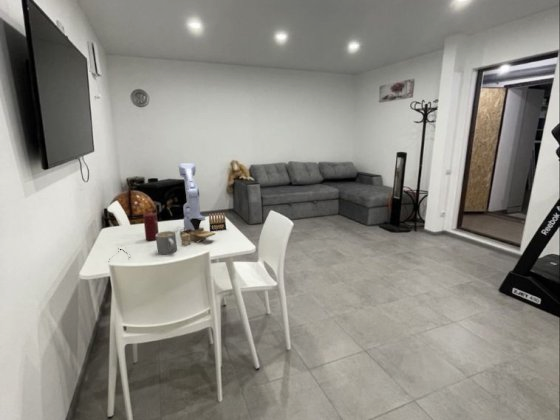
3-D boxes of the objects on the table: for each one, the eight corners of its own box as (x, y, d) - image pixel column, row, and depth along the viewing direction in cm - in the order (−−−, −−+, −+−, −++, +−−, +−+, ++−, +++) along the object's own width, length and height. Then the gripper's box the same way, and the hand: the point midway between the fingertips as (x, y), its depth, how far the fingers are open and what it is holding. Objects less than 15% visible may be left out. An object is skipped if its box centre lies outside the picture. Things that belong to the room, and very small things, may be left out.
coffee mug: (156, 250, 164) (154, 233, 162) (174, 246, 169) (172, 229, 167) (161, 258, 153) (158, 240, 151) (180, 254, 158) (178, 236, 156)
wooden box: (180, 238, 183) (179, 232, 182) (190, 234, 189) (189, 228, 188) (196, 242, 175) (195, 235, 174) (205, 238, 181) (205, 232, 180)
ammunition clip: (226, 229, 199) (224, 211, 196) (226, 229, 197) (225, 212, 194) (209, 230, 195) (208, 213, 192) (210, 231, 194) (208, 213, 191)
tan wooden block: (186, 243, 174) (185, 233, 173) (190, 244, 172) (189, 234, 171) (181, 245, 172) (180, 235, 170) (185, 246, 170) (184, 236, 168)
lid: (188, 233, 177) (188, 229, 177) (198, 230, 183) (198, 226, 183) (205, 238, 169) (205, 233, 169) (215, 234, 175) (215, 230, 175)
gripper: (181, 208, 176) (183, 230, 179) (197, 211, 168) (199, 234, 171) (190, 206, 181) (192, 227, 185) (207, 208, 173) (209, 231, 177)
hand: (196, 230), depth 178 cm, fingers closed
